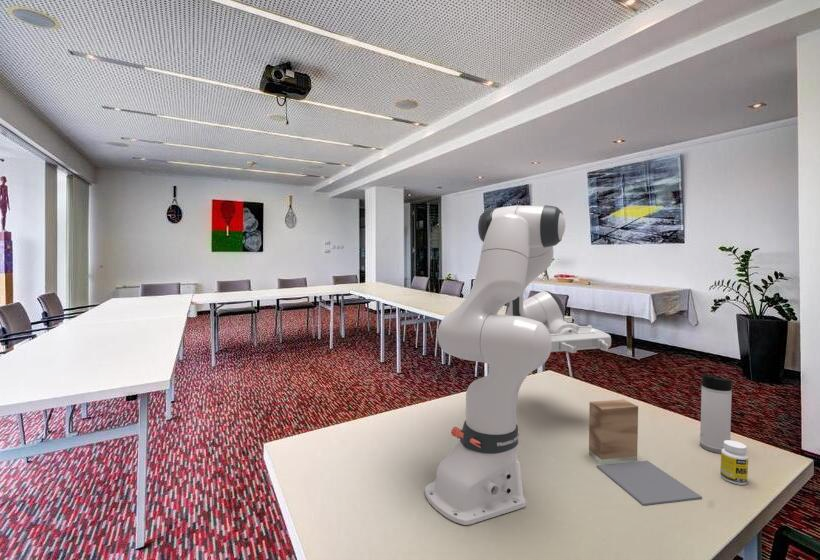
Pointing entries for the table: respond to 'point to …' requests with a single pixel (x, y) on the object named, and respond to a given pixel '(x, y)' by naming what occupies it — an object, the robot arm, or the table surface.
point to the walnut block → (613, 431)
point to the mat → (648, 483)
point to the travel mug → (715, 412)
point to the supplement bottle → (734, 462)
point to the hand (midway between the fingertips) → (590, 348)
